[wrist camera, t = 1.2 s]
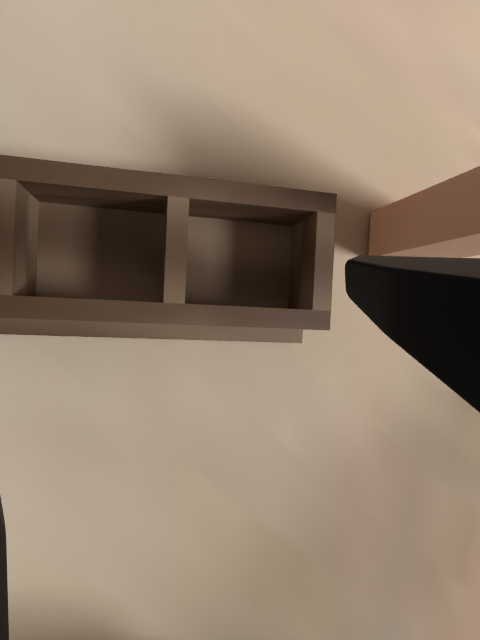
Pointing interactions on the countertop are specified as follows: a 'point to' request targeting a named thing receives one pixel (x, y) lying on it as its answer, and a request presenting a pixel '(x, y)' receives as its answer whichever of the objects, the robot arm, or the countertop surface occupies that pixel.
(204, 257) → the compartment tray
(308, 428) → the countertop surface
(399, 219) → the clay block
